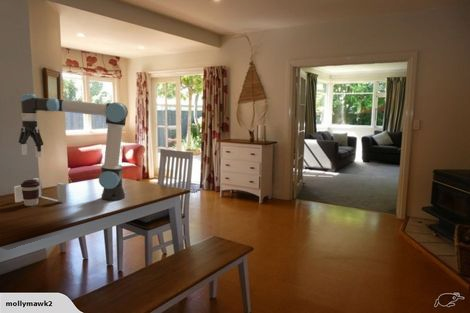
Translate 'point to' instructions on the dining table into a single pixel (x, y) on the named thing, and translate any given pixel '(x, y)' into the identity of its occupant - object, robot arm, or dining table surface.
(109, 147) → the robot arm
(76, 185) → the dining table surface
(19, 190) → the door
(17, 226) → the dining table surface
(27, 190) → the coffee cup
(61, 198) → the wall frame
